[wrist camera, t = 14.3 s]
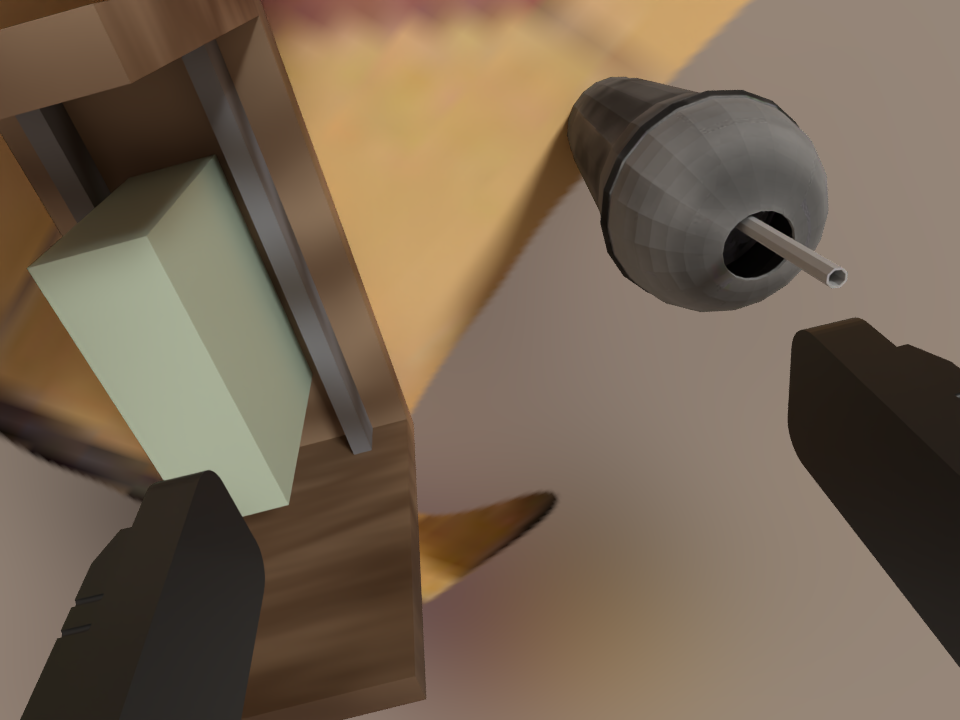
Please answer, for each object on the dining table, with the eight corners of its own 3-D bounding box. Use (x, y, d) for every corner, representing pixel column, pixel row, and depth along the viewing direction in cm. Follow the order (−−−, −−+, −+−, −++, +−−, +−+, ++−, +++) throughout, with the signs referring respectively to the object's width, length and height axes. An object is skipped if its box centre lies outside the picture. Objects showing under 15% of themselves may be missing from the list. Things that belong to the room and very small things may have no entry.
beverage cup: (573, 225, 35) (741, 484, 18) (513, 94, 32) (652, 266, 15) (705, 156, 34) (1013, 365, 17) (658, 12, 31) (991, 96, 14)
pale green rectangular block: (128, 177, 30) (26, 268, 22) (215, 154, 30) (146, 235, 22) (240, 393, 37) (195, 528, 28) (312, 374, 37) (288, 504, 28)
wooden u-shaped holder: (-27, 49, 29) (-483, 164, 14) (250, -28, 28) (92, 3, 13) (220, 473, 41) (122, 773, 26) (413, 423, 41) (426, 699, 26)
